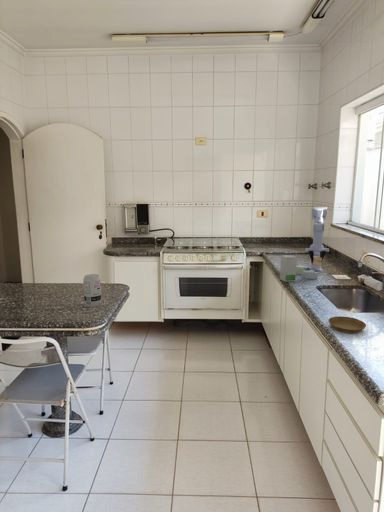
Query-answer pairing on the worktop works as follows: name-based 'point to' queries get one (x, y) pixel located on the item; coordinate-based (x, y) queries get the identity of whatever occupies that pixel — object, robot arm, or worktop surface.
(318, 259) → the maple block
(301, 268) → the sage block
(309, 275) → the blue-grey base block
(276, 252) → the worktop surface
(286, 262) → the skincare box
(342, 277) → the card
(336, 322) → the plant saucer
